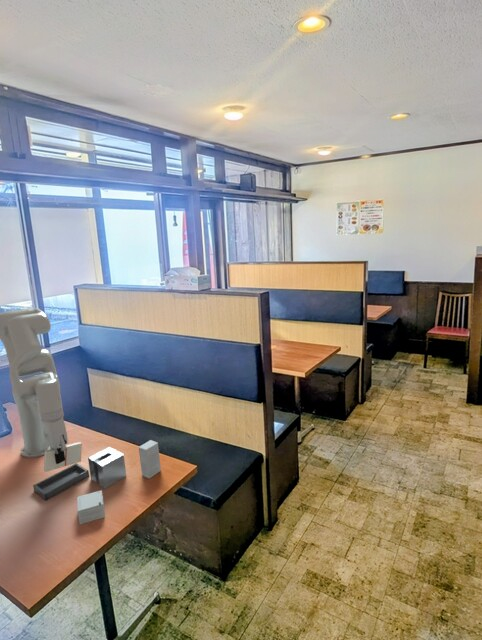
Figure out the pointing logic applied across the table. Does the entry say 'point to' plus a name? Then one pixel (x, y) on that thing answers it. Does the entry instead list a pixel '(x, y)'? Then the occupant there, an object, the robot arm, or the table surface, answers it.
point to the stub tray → (60, 481)
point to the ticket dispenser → (107, 467)
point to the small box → (90, 507)
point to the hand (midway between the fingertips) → (59, 461)
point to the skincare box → (149, 459)
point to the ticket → (70, 454)
